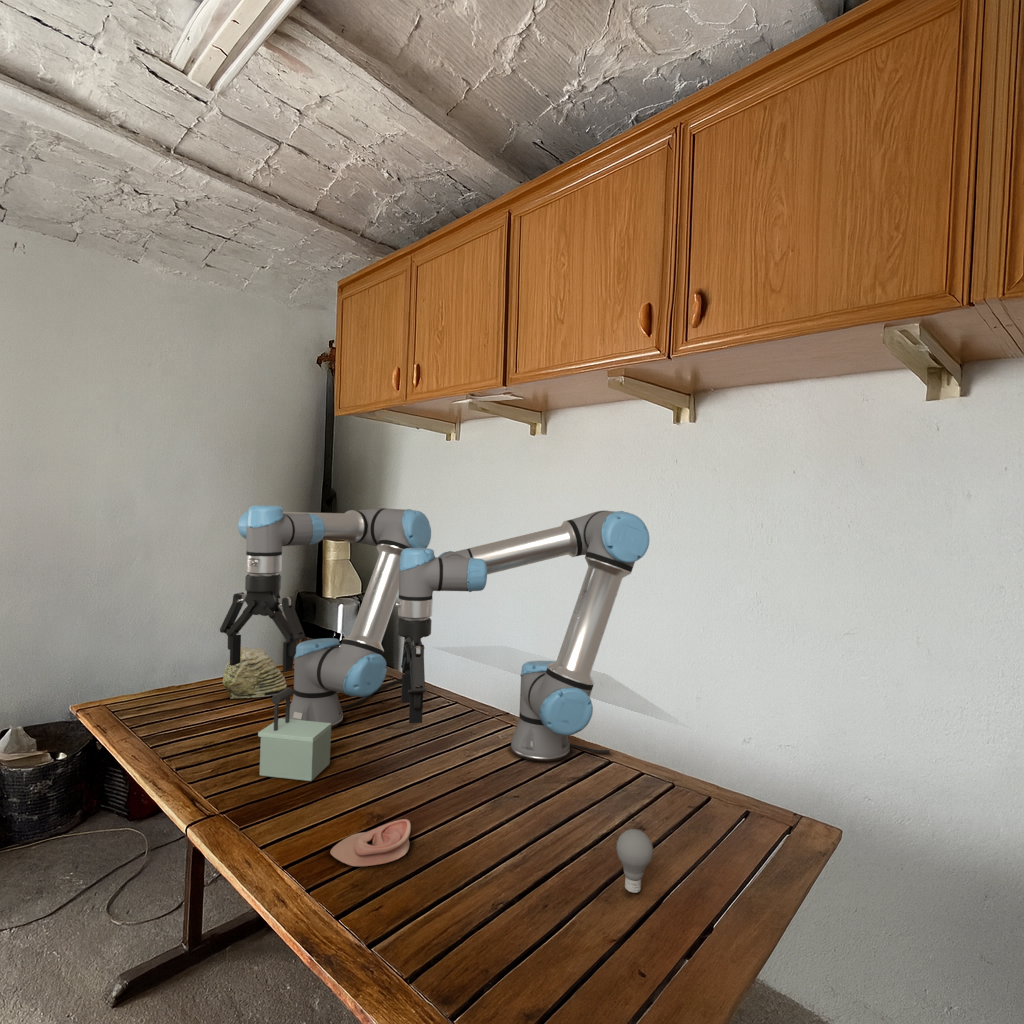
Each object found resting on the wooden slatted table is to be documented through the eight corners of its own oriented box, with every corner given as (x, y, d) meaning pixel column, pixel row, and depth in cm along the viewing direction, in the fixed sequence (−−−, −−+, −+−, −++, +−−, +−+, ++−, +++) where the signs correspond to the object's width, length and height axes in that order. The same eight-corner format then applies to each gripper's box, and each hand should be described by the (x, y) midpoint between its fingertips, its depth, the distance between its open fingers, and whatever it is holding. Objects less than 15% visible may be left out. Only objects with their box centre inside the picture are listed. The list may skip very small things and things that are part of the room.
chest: (259, 775, 142) (260, 737, 142) (280, 758, 152) (282, 722, 152) (311, 781, 141) (312, 742, 141) (329, 763, 150) (331, 727, 150)
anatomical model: (322, 838, 110) (352, 807, 121) (321, 861, 110) (351, 828, 121) (394, 850, 107) (417, 817, 119) (393, 873, 107) (416, 838, 119)
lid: (258, 736, 142) (259, 696, 142) (279, 722, 152) (281, 684, 152) (312, 742, 141) (314, 701, 140) (331, 727, 150) (332, 688, 150)
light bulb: (610, 879, 108) (613, 822, 108) (644, 879, 109) (647, 822, 109) (619, 902, 102) (622, 840, 102) (655, 901, 103) (658, 840, 103)
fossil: (218, 695, 195) (220, 647, 195) (278, 685, 208) (279, 640, 207) (228, 703, 189) (230, 653, 188) (289, 692, 201) (290, 645, 201)
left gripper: (204, 571, 142) (202, 665, 143) (303, 579, 136) (300, 677, 137) (227, 568, 149) (224, 657, 150) (322, 575, 143) (319, 668, 144)
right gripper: (391, 607, 152) (388, 695, 152) (404, 629, 128) (401, 733, 128) (422, 607, 154) (419, 694, 155) (441, 628, 130) (437, 731, 131)
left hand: (261, 667), depth 143 cm, fingers open, 13 cm apart
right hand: (411, 712), depth 141 cm, fingers open, 13 cm apart
